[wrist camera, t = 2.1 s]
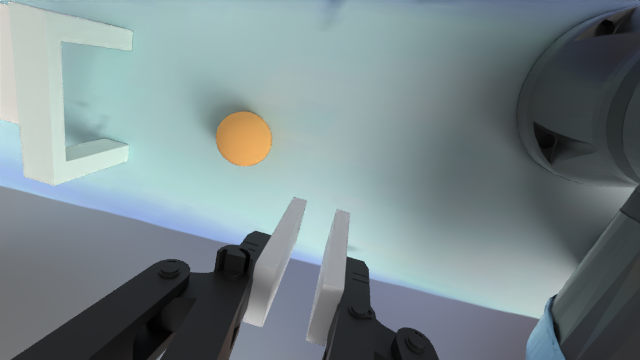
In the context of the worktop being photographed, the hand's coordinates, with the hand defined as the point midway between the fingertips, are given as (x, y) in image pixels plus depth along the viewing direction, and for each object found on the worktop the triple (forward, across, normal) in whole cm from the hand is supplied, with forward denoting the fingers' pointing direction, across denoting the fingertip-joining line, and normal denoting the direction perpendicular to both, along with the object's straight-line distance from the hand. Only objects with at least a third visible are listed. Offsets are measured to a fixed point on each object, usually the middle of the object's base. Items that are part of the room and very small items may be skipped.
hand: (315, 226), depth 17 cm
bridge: (+16, +26, 0) cm, 30 cm away
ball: (+14, +10, 0) cm, 17 cm away
